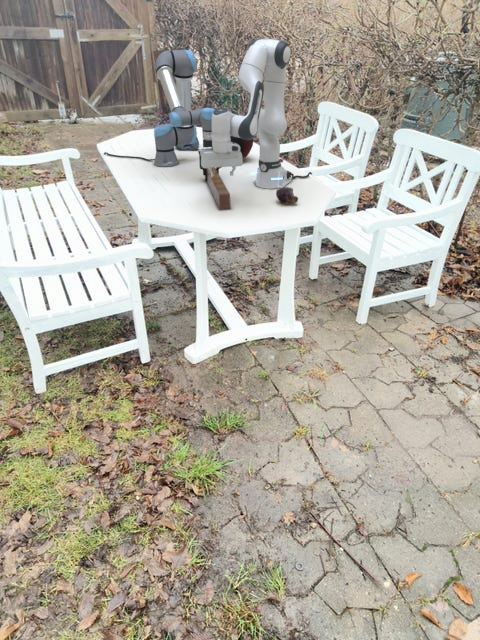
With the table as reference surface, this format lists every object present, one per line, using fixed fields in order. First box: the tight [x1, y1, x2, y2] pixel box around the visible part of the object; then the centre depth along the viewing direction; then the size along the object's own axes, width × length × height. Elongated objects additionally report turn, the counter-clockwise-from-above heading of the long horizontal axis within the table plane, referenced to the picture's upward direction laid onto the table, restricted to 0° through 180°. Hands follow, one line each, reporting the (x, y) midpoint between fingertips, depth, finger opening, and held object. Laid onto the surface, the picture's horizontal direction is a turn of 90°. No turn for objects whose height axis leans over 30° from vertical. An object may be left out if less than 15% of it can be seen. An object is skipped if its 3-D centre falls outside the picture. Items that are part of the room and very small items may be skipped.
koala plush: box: [174, 136, 200, 151], centre depth 322 cm, size 17×18×20 cm
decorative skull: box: [230, 136, 254, 160], centre depth 296 cm, size 21×24×25 cm
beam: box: [205, 167, 231, 211], centre depth 244 cm, size 52×5×8 cm, turn 11°
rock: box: [275, 186, 299, 205], centre depth 230 cm, size 12×9×10 cm
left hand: (211, 180), depth 263 cm, fingers closed on beam, 5 cm apart
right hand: (222, 175), depth 220 cm, fingers open, 8 cm apart
